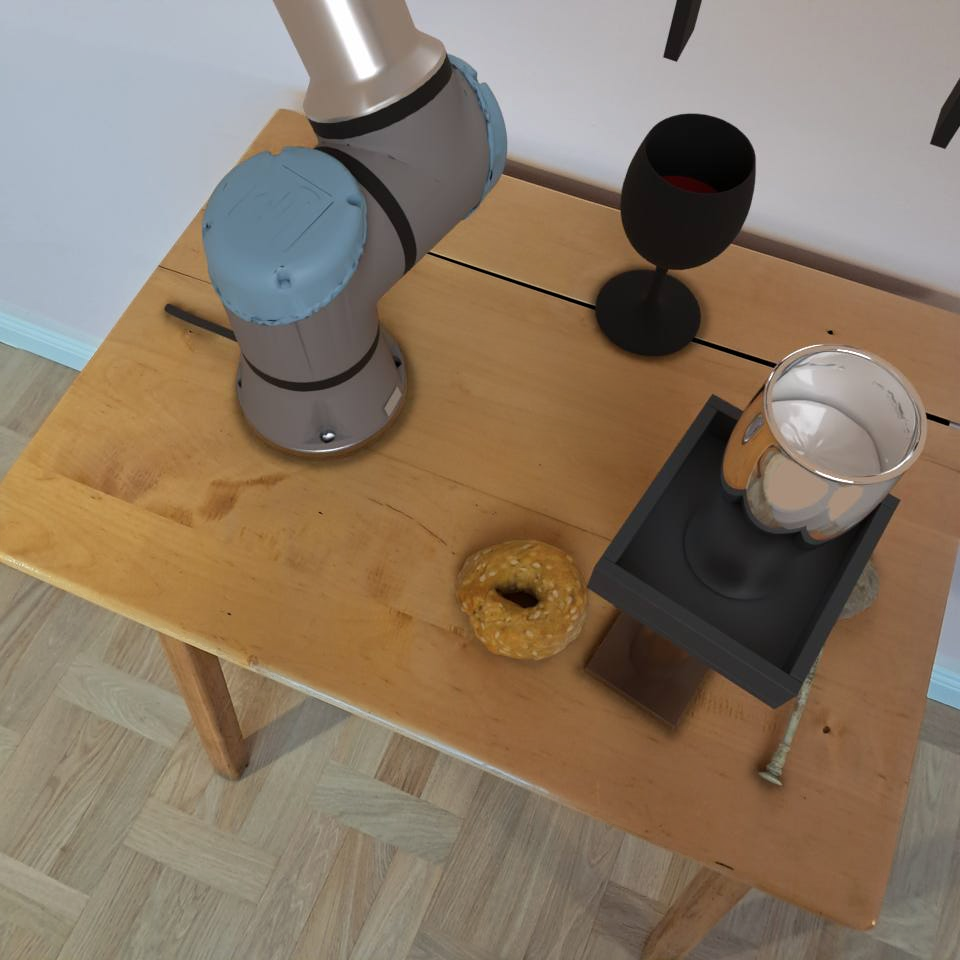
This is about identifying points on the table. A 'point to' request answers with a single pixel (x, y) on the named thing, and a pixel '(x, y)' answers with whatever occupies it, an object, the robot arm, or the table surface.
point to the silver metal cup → (804, 466)
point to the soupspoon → (855, 604)
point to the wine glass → (675, 227)
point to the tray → (709, 615)
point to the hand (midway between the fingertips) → (807, 85)
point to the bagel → (533, 573)
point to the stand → (647, 670)
